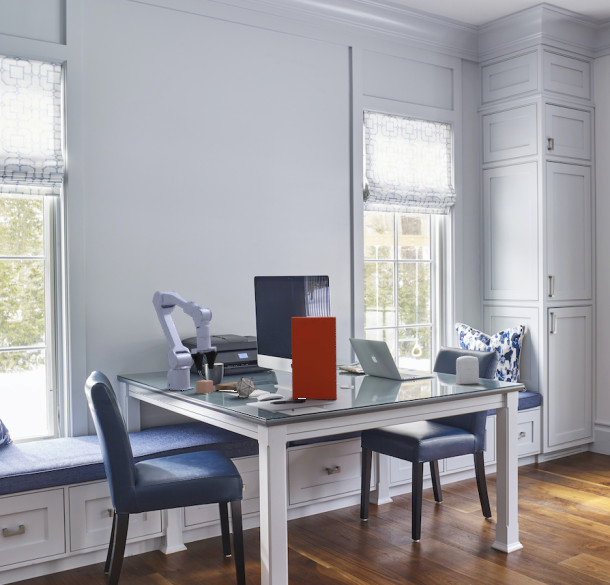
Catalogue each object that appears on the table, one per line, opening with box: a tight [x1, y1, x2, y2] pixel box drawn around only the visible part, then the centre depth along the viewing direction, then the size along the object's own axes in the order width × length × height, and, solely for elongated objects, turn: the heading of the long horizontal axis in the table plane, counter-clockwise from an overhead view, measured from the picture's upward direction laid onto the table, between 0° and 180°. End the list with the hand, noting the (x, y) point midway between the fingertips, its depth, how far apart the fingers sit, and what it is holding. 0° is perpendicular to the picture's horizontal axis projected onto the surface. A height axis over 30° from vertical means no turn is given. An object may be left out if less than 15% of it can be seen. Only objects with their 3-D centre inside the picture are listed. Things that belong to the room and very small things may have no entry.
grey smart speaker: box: [455, 355, 480, 385], centre depth 324 cm, size 10×4×12 cm, turn 101°
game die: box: [234, 376, 258, 398], centre depth 292 cm, size 9×8×10 cm
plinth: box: [214, 381, 256, 391], centre depth 311 cm, size 12×12×2 cm
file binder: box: [291, 316, 338, 400], centre depth 287 cm, size 8×17×32 cm, turn 91°
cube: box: [195, 379, 214, 394], centre depth 304 cm, size 5×5×5 cm
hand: (205, 369), depth 304 cm, fingers open, 7 cm apart
